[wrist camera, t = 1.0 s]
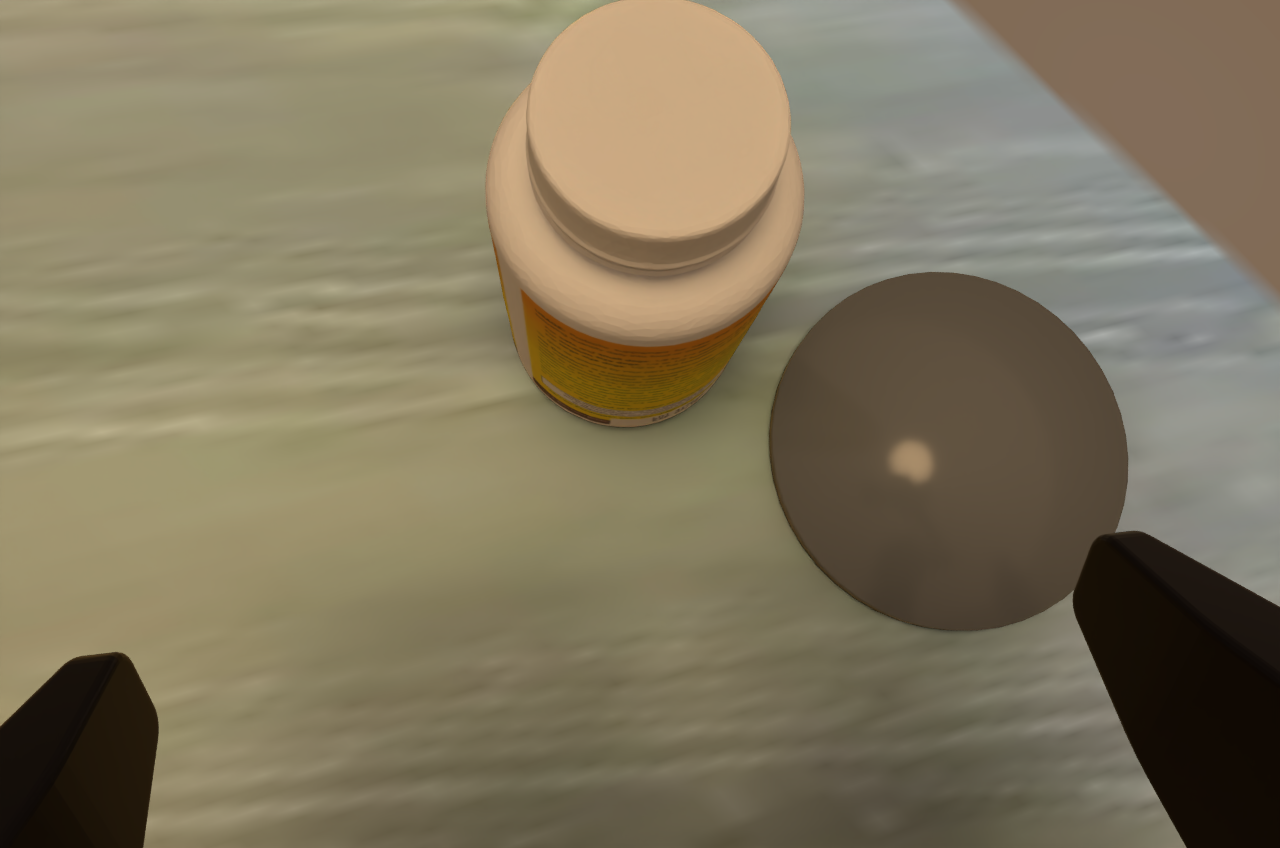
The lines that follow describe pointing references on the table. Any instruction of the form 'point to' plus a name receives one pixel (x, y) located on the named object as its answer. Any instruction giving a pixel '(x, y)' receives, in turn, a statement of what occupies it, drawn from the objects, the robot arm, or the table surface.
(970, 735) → the table surface
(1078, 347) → the slate coaster
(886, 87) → the table surface
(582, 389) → the supplement bottle
